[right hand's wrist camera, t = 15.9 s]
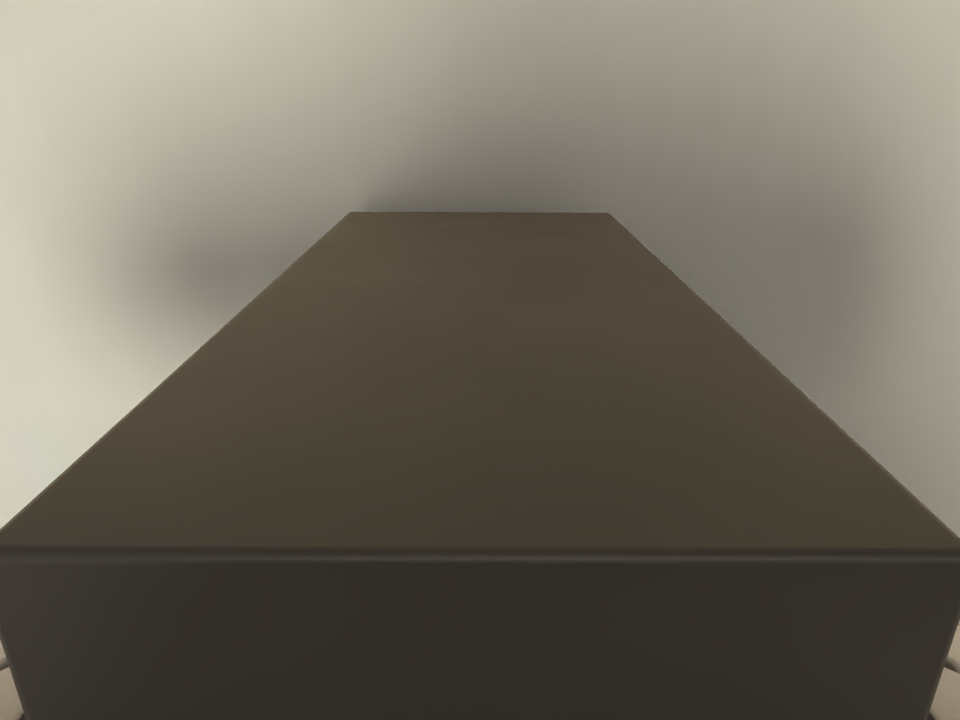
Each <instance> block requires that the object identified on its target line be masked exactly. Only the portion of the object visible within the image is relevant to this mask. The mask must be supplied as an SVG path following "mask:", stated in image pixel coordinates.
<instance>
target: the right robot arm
mask: <svg viewBox="0 0 960 720" xmlns="http://www.w3.org/2000/svg"><path fill="white" fill-rule="evenodd" d="M0 720H26V718H25V714H24V711H23V708H22V705H21V702H20V699H19V696H18V693H17V690H16V687H15V683H14V680H13V677H12V674H11V671H10V668H9V665H8V662H7V659H6V655H5V652H4V649H3V646H2V643H1V640H0ZM927 720H960V625H958V626H957V629H956V632H955V635H954V638H953V641H952V644H951V647H950V650H949V653H948V656H947V659H946V662H945V665H944V669H943V672H942V675H941V678H940V681H939V684H938V687H937V690H936V693H935V696H934V699H933V702H932V705H931V709H930V712H929V715H928V718H927Z"/></svg>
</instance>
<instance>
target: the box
mask: <svg viewBox="0 0 960 720" xmlns="http://www.w3.org/2000/svg"><path fill="white" fill-rule="evenodd" d="M959 619H960V538H959V537H958V536H957V535H956V534H954V533H953V532H952V531H951V530H950V529H949V528H948V527H947V526H946V525H945V524H944V523H943V522H942V521H940V520H939V519H938V518H937V517H936V516H935V515H934V514H933V513H932V512H931V511H930V510H929V509H927V508H926V507H925V506H924V505H923V504H922V503H921V502H920V501H919V500H918V499H917V498H916V497H915V496H913V495H912V494H911V493H910V492H909V491H908V490H907V489H906V488H905V487H904V486H903V485H902V484H900V483H899V482H898V481H897V480H896V479H895V478H894V477H893V476H892V475H891V474H890V473H889V472H888V471H886V470H885V469H884V468H883V467H882V466H881V465H880V464H879V463H878V462H877V461H876V460H875V459H874V458H872V457H871V456H870V455H869V454H868V453H867V452H866V451H865V450H864V449H863V448H862V447H861V446H859V445H858V444H857V443H856V442H855V441H854V440H853V439H852V438H851V437H850V436H849V435H848V434H847V433H845V432H844V431H843V430H842V429H841V428H840V427H839V426H838V425H837V424H836V423H835V422H834V421H832V420H831V419H830V418H829V417H828V416H827V415H826V414H825V413H824V412H823V411H822V410H821V409H820V408H818V407H817V406H816V405H815V404H814V403H813V402H812V401H811V400H810V399H809V398H808V397H807V396H805V395H804V394H803V393H802V392H801V391H800V390H799V389H798V388H797V387H796V386H795V385H794V384H793V383H791V382H790V381H789V380H788V379H787V378H786V377H785V376H784V375H783V374H782V373H781V372H780V371H778V370H777V369H776V368H775V367H774V366H773V365H772V364H771V363H770V362H769V361H768V360H767V359H766V358H764V357H763V356H762V355H761V354H760V353H759V352H758V351H757V350H756V349H755V348H754V347H753V346H752V345H750V344H749V343H748V342H747V341H746V340H745V339H744V338H743V337H742V336H741V335H740V334H739V333H737V332H736V331H735V330H734V329H733V328H732V327H731V326H730V325H729V324H728V323H727V322H726V321H725V320H723V319H722V318H721V317H720V316H719V315H718V314H717V313H716V312H715V311H714V310H713V309H712V308H710V307H709V306H708V305H707V304H706V303H705V302H704V301H703V300H702V299H701V298H700V297H699V296H698V295H696V294H695V293H694V292H693V291H692V290H691V289H690V288H689V287H688V286H687V285H686V284H685V283H683V282H682V281H681V280H680V279H679V278H678V277H677V276H676V275H675V274H674V273H673V272H672V271H671V270H669V269H668V268H667V267H666V266H665V265H664V264H663V263H662V262H661V261H660V260H659V259H658V258H656V257H655V256H654V255H653V254H652V253H651V252H650V251H649V250H648V249H647V248H646V247H645V246H644V245H642V244H641V243H640V242H639V241H638V240H637V239H636V238H635V237H634V236H633V235H632V234H631V233H629V232H628V231H627V230H626V229H625V228H624V227H623V226H622V225H621V224H620V223H619V222H618V221H617V220H615V219H614V218H613V217H612V216H611V215H610V214H608V213H470V212H351V213H349V214H348V215H347V216H345V217H344V218H343V219H342V220H341V221H340V222H339V223H338V224H337V225H335V226H334V227H333V228H332V229H331V230H330V231H329V232H328V233H327V234H326V235H324V236H323V237H322V238H321V239H320V240H319V241H318V242H317V243H316V244H315V245H313V246H312V247H311V248H310V249H309V250H308V251H307V252H306V253H305V254H304V255H302V256H301V257H300V258H299V259H298V260H297V261H296V262H295V263H294V264H292V265H291V266H290V267H289V268H288V269H287V270H286V271H285V272H284V273H283V274H281V275H280V276H279V277H278V278H277V279H276V280H275V281H274V282H273V283H272V284H270V285H269V286H268V287H267V288H266V289H265V290H264V291H263V292H262V293H260V294H259V295H258V296H257V297H256V298H255V299H254V300H253V301H252V302H251V303H249V304H248V305H247V306H246V307H245V308H244V309H243V310H242V311H241V312H240V313H238V314H237V315H236V316H235V317H234V318H233V319H232V320H231V321H230V322H229V323H227V324H226V325H225V326H224V327H223V328H222V329H221V330H220V331H219V332H217V333H216V334H215V335H214V336H213V337H212V338H211V339H210V340H209V341H208V342H206V343H205V344H204V345H203V346H202V347H201V348H200V349H199V350H198V351H197V352H195V353H194V354H193V355H192V356H191V357H190V358H189V359H188V360H187V361H185V362H184V363H183V364H182V365H181V366H180V367H179V368H178V369H177V370H176V371H174V372H173V373H172V374H171V375H170V376H169V377H168V378H167V379H166V380H165V381H163V382H162V383H161V384H160V385H159V386H158V387H157V388H156V389H155V390H154V391H152V392H151V393H150V394H149V395H148V396H147V397H146V398H145V399H144V400H142V401H141V402H140V403H139V404H138V405H137V406H136V407H135V408H134V409H133V410H131V411H130V412H129V413H128V414H127V415H126V416H125V417H124V418H123V419H122V420H120V421H119V422H118V423H117V424H116V425H115V426H114V427H113V428H112V429H111V430H109V431H108V432H107V433H106V434H105V435H104V436H103V437H102V438H101V439H99V440H98V441H97V442H96V443H95V444H94V445H93V446H92V447H91V448H90V449H88V450H87V451H86V452H85V453H84V454H83V455H82V456H81V457H80V458H79V459H77V460H76V461H75V462H74V463H73V464H72V465H71V466H70V467H69V468H67V469H66V470H65V471H64V472H63V473H62V474H61V475H60V476H59V477H58V478H56V479H55V480H54V481H53V482H52V483H51V484H50V485H49V486H48V487H47V488H45V489H44V490H43V491H42V492H41V493H40V494H39V495H38V496H37V497H36V498H34V499H33V500H32V501H31V502H30V503H29V504H28V505H27V506H26V507H24V508H23V509H22V510H21V511H20V512H19V513H18V514H17V515H16V516H15V517H13V518H12V519H11V520H10V521H9V522H8V523H7V524H6V525H5V526H4V527H2V528H1V529H0V640H1V643H2V646H3V649H4V652H5V655H6V659H7V662H8V665H9V668H10V671H11V674H12V677H13V680H14V683H15V687H16V690H17V693H18V696H19V699H20V702H21V705H22V708H23V711H24V714H25V718H26V720H927V718H928V715H929V712H930V709H931V705H932V702H933V699H934V696H935V693H936V690H937V687H938V684H939V681H940V678H941V675H942V672H943V669H944V665H945V662H946V659H947V656H948V653H949V650H950V647H951V644H952V641H953V638H954V635H955V632H956V629H957V626H958V622H959Z"/></svg>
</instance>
